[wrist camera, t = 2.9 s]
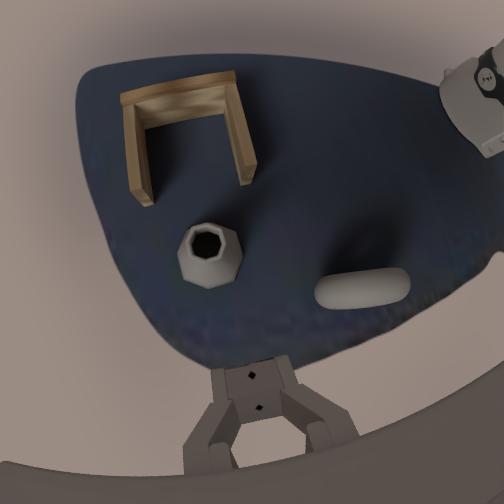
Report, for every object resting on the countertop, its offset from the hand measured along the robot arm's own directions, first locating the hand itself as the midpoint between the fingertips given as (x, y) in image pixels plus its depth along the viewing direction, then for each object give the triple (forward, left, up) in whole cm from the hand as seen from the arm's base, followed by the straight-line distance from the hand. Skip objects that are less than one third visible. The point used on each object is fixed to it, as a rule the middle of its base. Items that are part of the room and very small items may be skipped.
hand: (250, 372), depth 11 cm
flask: (+1, -7, -22) cm, 23 cm away
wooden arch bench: (+1, -19, -21) cm, 29 cm away
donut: (-13, 0, -22) cm, 25 cm away
